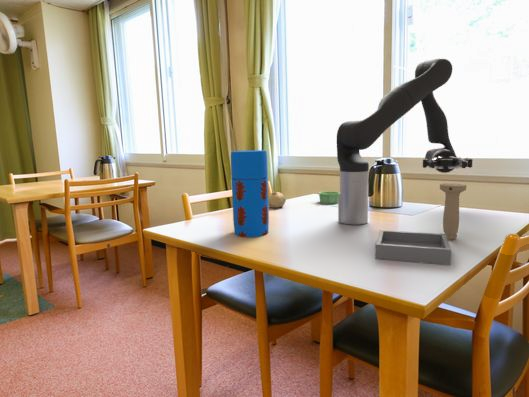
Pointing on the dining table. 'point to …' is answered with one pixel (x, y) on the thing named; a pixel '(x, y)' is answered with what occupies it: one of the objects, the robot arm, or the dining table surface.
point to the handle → (451, 209)
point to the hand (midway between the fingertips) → (448, 164)
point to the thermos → (250, 193)
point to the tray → (413, 247)
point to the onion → (276, 200)
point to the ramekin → (329, 197)
